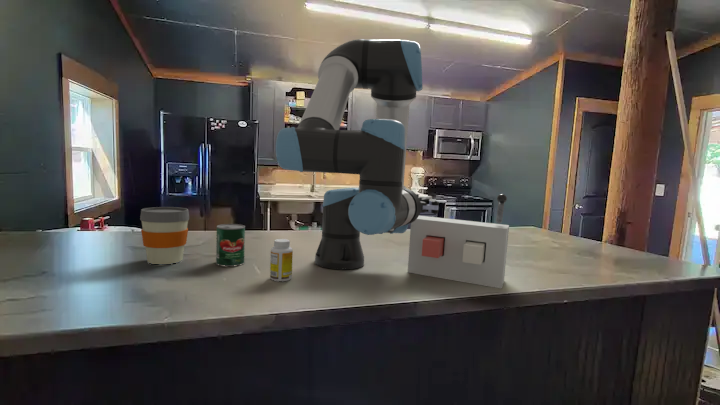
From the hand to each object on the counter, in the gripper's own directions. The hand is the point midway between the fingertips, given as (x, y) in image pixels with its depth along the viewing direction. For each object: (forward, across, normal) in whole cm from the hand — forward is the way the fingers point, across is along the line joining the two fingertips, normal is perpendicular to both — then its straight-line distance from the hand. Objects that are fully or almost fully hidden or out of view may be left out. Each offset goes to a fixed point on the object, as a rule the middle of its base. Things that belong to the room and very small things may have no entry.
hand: (428, 201), depth 98 cm
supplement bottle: (-15, -34, -23) cm, 43 cm away
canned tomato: (-11, -55, -22) cm, 60 cm away
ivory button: (+9, +11, -16) cm, 21 cm away
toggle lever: (+15, +16, -6) cm, 23 cm away
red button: (+9, 0, -16) cm, 18 cm away
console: (+14, +5, -22) cm, 27 cm away
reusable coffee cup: (-20, -71, -22) cm, 77 cm away
